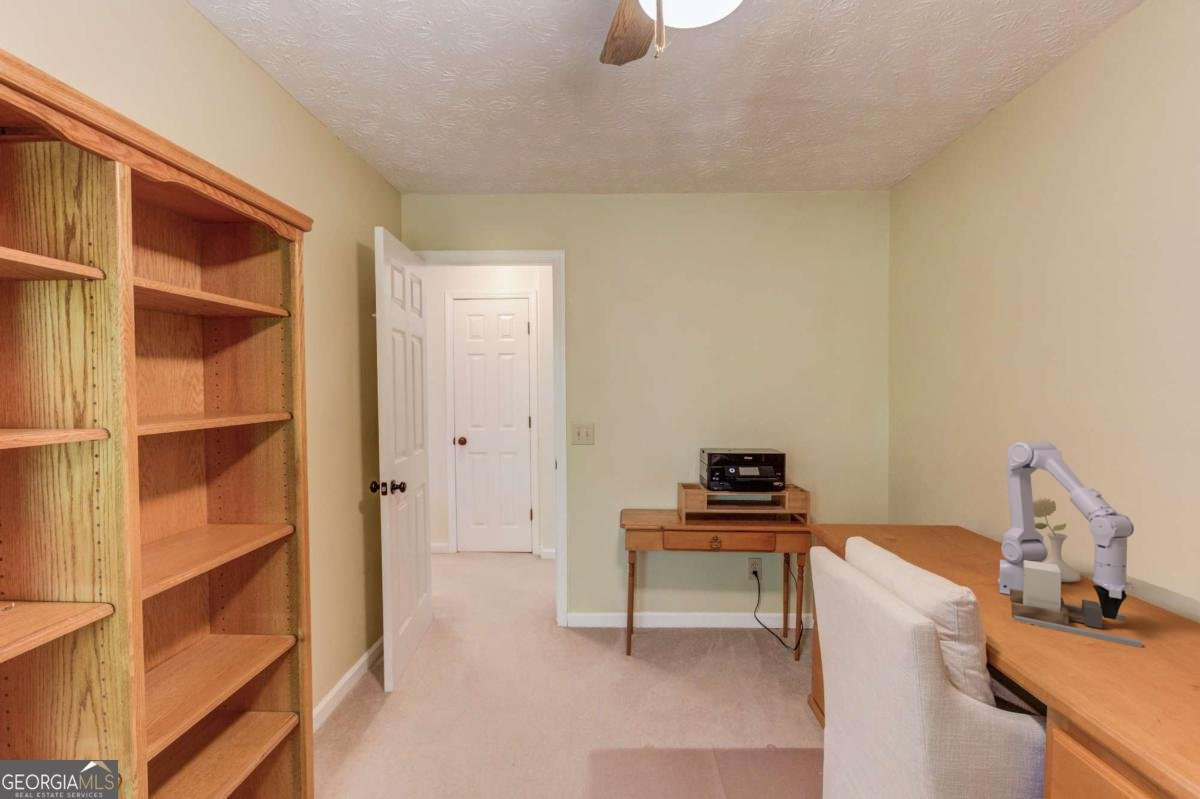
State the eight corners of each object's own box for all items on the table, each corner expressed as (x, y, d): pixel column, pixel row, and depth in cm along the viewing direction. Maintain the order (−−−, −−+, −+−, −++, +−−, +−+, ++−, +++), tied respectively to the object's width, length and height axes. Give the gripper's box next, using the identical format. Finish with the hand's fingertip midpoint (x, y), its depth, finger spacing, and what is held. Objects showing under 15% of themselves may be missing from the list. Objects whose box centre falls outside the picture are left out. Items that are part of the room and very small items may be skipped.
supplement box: (1058, 611, 139) (1058, 564, 139) (1061, 621, 133) (1062, 572, 133) (1022, 605, 143) (1023, 559, 143) (1023, 614, 137) (1024, 566, 137)
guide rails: (1013, 621, 133) (1013, 617, 133) (1010, 597, 149) (1011, 593, 149) (1142, 647, 120) (1142, 643, 120) (1124, 618, 135) (1124, 614, 135)
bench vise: (1011, 615, 136) (1011, 597, 136) (1009, 598, 147) (1010, 582, 147) (1104, 633, 126) (1104, 615, 126) (1095, 614, 136) (1095, 597, 136)
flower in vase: (1076, 577, 165) (1077, 497, 164) (1084, 588, 155) (1086, 504, 155) (1023, 569, 172) (1024, 493, 171) (1028, 580, 162) (1029, 499, 162)
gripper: (1140, 575, 122) (1138, 633, 122) (1126, 558, 133) (1125, 611, 134) (1098, 568, 126) (1097, 625, 126) (1088, 553, 137) (1087, 605, 138)
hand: (1109, 617), depth 130 cm, fingers closed, pressing on bench vise
